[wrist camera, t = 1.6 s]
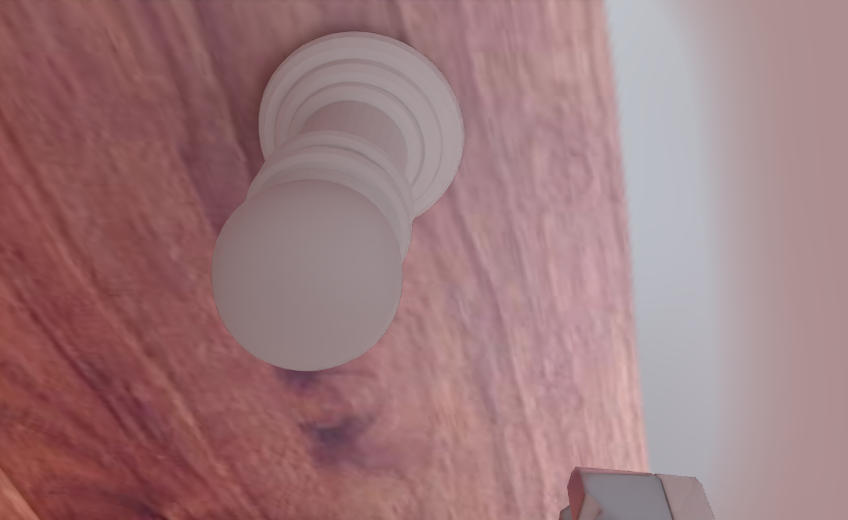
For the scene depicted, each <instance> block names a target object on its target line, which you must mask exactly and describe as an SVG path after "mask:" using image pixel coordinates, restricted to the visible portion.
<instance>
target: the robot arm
mask: <svg viewBox="0 0 848 520" xmlns="http://www.w3.org/2000/svg"><path fill="white" fill-rule="evenodd" d="M567 490H568V496H569V503H570V505H569V506H567V507H566V508H565V509H563V510H562V511H561V512H560V516H559V520H715V518H714V515H713V513H712V510H711V507H710V505H709V502H708V499H707V497H706V494H705V491H704V489H703V486H702V484H701V483H700V482H699V481H698V480H697V479H696V478H695V477H687V476H675V475H664V474H654V475H653V474H651V473H644V472H632V471H621V470H609V469H598V468H586V467H575V468H574V470H573V471H572V473H571V476H570V479H569V483H568V486H567Z"/></svg>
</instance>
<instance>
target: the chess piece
mask: <svg viewBox="0 0 848 520" xmlns="http://www.w3.org/2000/svg"><path fill="white" fill-rule="evenodd" d="M259 138H260V144H261V149H262V153H263V156H264V159H265V162H264V164H263V165H262V167H261V169H260V171H259V173H258V174H257V175H256V177H255V178H254V180H253V181H252V183H251V185H250V187H249V189H248V191H247V194H246V198H245V202H243V203H242V204H241V205H240V206H239V207H238V208H237V209H236V210H235V211H234V212H233V213H232V214H231V216H230V217H229V218H228V220H227V221H226V223H225V224H224V226H223V228H222V230H221V232H220V234H219V236H218V239H217V242H216V245H215V248H214V253H213V258H212V267H211V282H212V291H213V297H214V301H215V305H216V308H217V310H218V313H219V315H220V318H221V320H222V322H223V323H224V325H225V327H226V328H227V330H228V331H229V333H230V334H231V335H232V337H233V338H234V339H235V340H236V341H237V342H238V343H239V344H240V345H241V346H242V347H243V348H244V349H245V350H246V351H248V352H249V353H250V354H252V355H253V356H255V357H256V358H258V359H260V360H262V361H264V362H266V363H269V364H271V365H274V366H277V367H281V368H285V369H290V370H297V371H316V370H324V369H329V368H333V367H336V366H339V365H342V364H345V363H347V362H349V361H351V360H353V359H355V358H357V357H359V356H361V355H362V354H364V353H365V352H366V351H368V350H369V349H370V348H371V347H373V346H374V345H375V344H376V343H377V342H378V341H379V340H380V338H381V337H382V336H383V335H384V333H385V332H386V331H387V329H388V328H389V326H390V324H391V322H392V320H393V318H394V316H395V314H396V311H397V308H398V305H399V302H400V297H401V292H402V283H403V268H402V262H403V260H404V259H405V257H406V254H407V252H408V249H409V246H410V242H411V234H412V224H413V221H414V218H416V217H417V216H419V215H421V214H422V213H424V212H425V211H426V210H428V209H429V208H430V207H431V206H432V205H433V204H435V203H436V202H437V201H438V200H439V198H440V197H441V196H442V195H443V194H444V192H445V191H446V190H447V189H448V187H449V186H450V184H451V182H452V181H453V179H454V177H455V175H456V173H457V170H458V168H459V165H460V162H461V158H462V155H463V148H464V124H463V117H462V113H461V110H460V106H459V103H458V101H457V98H456V96H455V94H454V91H453V90H452V88H451V86H450V85H449V83H448V81H447V80H446V78H445V77H444V76H443V74H442V73H441V72H440V71H439V69H438V68H437V67H436V66H435V65H434V64H433V63H432V62H431V61H430V60H429V59H428V58H426V57H425V56H424V55H422V54H421V53H420V52H418V51H417V50H416V49H414V48H412V47H410V46H408V45H407V44H405V43H403V42H401V41H398V40H396V39H393V38H391V37H388V36H384V35H380V34H376V33H369V32H361V31H358V32H340V33H334V34H330V35H326V36H323V37H319V38H317V39H315V40H313V41H310V42H308V43H306V44H304V45H303V46H301V47H300V48H298V49H297V50H295V51H294V52H293V53H291V54H290V55H289V56H288V57H287V58H286V59H285V60H284V61H283V62H282V63H281V64H280V65H279V67H278V68H277V69H276V70H275V72H274V73H273V75H272V77H271V78H270V80H269V82H268V84H267V86H266V89H265V91H264V93H263V97H262V101H261V104H260V111H259Z"/></svg>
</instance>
